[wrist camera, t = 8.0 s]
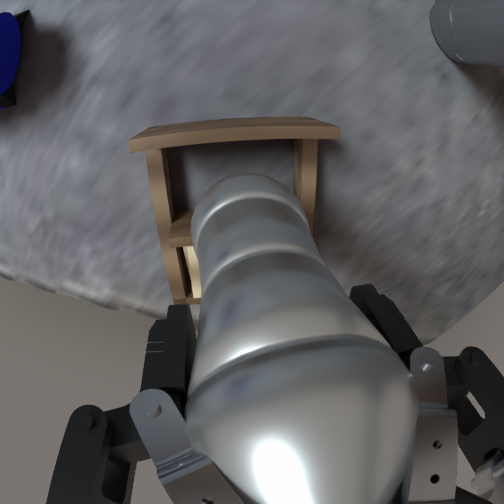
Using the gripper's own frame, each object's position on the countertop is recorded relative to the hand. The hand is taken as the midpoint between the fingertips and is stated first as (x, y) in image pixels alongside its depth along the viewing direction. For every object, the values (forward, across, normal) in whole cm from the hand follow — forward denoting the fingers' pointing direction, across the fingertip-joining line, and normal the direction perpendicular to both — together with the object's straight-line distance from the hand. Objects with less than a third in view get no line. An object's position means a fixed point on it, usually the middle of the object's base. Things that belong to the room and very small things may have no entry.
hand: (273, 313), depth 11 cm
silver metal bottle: (+10, 0, 0) cm, 10 cm away
